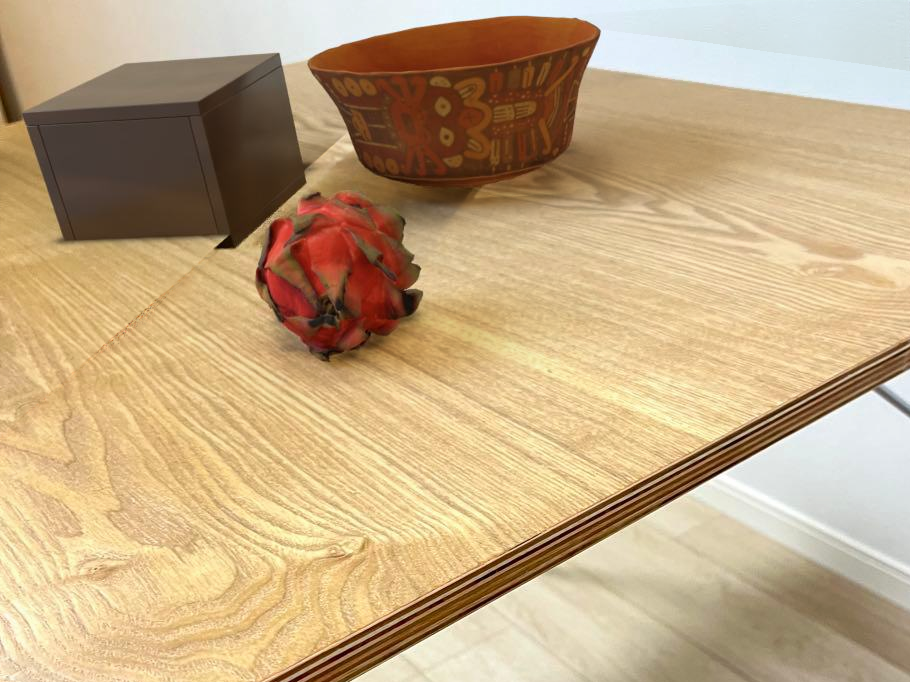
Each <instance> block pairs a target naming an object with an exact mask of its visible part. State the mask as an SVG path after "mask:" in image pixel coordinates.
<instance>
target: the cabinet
mask: <svg viewBox="0 0 910 682" xmlns="http://www.w3.org/2000/svg"><path fill="white" fill-rule="evenodd" d="M21 116H22V118H23V121H24V125H25V126H26V131H27V133H28V136H29V139H30V142H31V145H32V149H33V151H34V154H35V157H36V160H37V164H38V166H39V169H40V172H41V175H42V177H43V178H42V179H43V181H44V184H45V187H46V190H47V193H48V196H49V199H50V202H51V205H52V208H53V211H54V214H55V218H56V221H57V223H58V226H59V229H60V232H61V236H62V238H63V240H64V242H72V241H74V242H75V241H97V240H121V239H122V240H124V239H126V240H127V239H150V238H152V239H153V238H175V237H176V238H177V237H178V238H179V237H202V236H203V237H204V236H226V237H225V238H224V239H223V240H222V241H220V242H219V243H217V245H216V246H214V247H213V250H224V249H225V250H226V249H236V248H237V246H239V245H241V243H242V242H243V241H245V240H246V239H247V238H248V237H249V236H250V235H251V234H252V233H253V232H255V231H256V229H257V228H259V227H260V226H261V225H262V224H263V223H265V222H266V221H267V220H268V219H269V218H270V217H271V216H272V215H273V214H274V213H276V211H278V210H279V209H280V208H281V207H282V206H284V204H285V203H286V202H288V201H289V200H290V199H291V198H292V197H293V196H295V194H296V193H298V191H300V190H301V189H302V188H303V187H304V186H305V185H306V184H308V183H307V178H306V173H305V168H304V163H303V159H302V154H301V153H302V152H301V148H300V143H299V138H298V135H297V130H296V129H297V128H296V124H295V119H294V114H293V110H292V105H291V101H290V96H289V91H288V87H287V82H286V75H285V71H284V67H283V63H282V57H281V53H280V52H270V53H269V52H268V53H254V54H240V55H239V54H238V55H227V56H224V55H223V56H212V57H197V58H196V57H195V58H183V59H169V60H156V61H154V60H153V61H142V62H141V61H140V62H126V63H123V64H121V65H119V66H117V67H115V68H112V69H111V70H108V71H107V72H104V73H102V74H100V75H98V76H96V77H94V78H91V79H90V80H87V81H85V82H83V83H82V84H79V85H77V86H74V87H72V88H71V89H68V90H66V91H64V92H61V93H59V94H57V95H55V96H53V97H51V98H49V99H47V100H44V101H43V102H41V103H38V104H36V105H34V106H32V107H29V108H28V109H26V110H24V111H22V112H21Z"/></svg>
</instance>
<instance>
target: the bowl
mask: <svg viewBox="0 0 910 682" xmlns="http://www.w3.org/2000/svg"><path fill="white" fill-rule="evenodd" d="M601 33H602V30H601V29H600V28H599V27H598V26H597V25H595V24H593V23H591V22H590V21H588V20H583V19H580V18H578V17H564V16H563V17H556V16H538V15H503V16H495V17H485V18H477V19H471V20H459V21H452V22H444V23H437V24H430V25H424V26H417V27H412V28H406V29H403V30H398V31H395V32H393V31H392V32H389V33H384V34H378V35H374V36H370V37H366V38H363V39H359V40H356V41H351V42H346V43H342V44H340V45H338V46H334V47H330V48H327V49H325V50H323V51H321V52H319V53H317V54H314V55H313V56H312V57H310V58H309V59H308V60H307V63H306V64H307V65H306V66H307V67H308V69H309V71H310V73H311V74H312V76H313V77H314V78H315V79H316V81H317V82H318V83H319V84H320V86H321V87H322V88H323V90H324V91H325V92H326V94H327V95H328V96H329V98H330V99H331V101H332V102H333V104H334V105H335V106H336V108H337V110H338V112H339V114H340V116H341V118H342V120H343V122H344V124H345V126H346V130H347V133H348V135H349V138H350V141H351V143H352V146H353V149H354V151H355V154H356V156H357V159H358V161H359V163H360V164H361V165H362V166H363V168H364V169H366V170H368V171H369V172H371V173H372V174H374V175H376V176H379V177H382V178H383V179H387V180H390V181H394V182H399V183H403V184H406V185H412V186H418V187H425V188H435V189H462V188H463V189H464V188H473V187H481V186H487V185H488V186H489V185H492V184H496V183H502V182H505V181H509V180H513V179H516V178H519V177H522V176H524V175H527V174H530V173H533V172H535V171H537V170H539V169H541V168H542V167H544V166H546V165H548V164H551V163H552V162H554V161H556V159H558V158H559V157H560V156H561V155H563V154H564V153H565V152H566V151H567V150H568V149H569V147H570V145H571V142H572V139H573V134H574V126H575V119H576V112H577V104H578V99H579V92H580V91H579V90H580V87H581V84H582V80H583V77H584V74H585V71H586V70H587V67H588V65H589V63H590V61H591V59H592V56H593V54H594V51H595V49H596V47H597V44H598V42H599V39H600V37H601Z"/></svg>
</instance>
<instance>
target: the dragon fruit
mask: <svg viewBox="0 0 910 682" xmlns="http://www.w3.org/2000/svg"><path fill="white" fill-rule="evenodd" d="M406 225H407V223H406V219H405V217H404V216H403V215H402V214H401V213H400V211H398V210H397V209H395V208H393V207H392V206H387V205H381V204H379V203H376V202H372V200H371V198H370V197H369V196H368V195H367V194H366V193H364V192H363V191H360V190H357V189H347V190H340V191H337V192H336V193H335V194H334V195H332V196H331V197H330V198H326V197H325V196H324V195H322V192H320V191H319V190H318V191H315V192H309V193H305V194H302V195H301V196H300V197H299V199H298V206H297V209H296V215H294V214H291V215H287V216H286V217H285V218H276V219H274V220H273V221H272V222H271V223H270V224H269V226H268V228H267V229H266V230H265V232H264V234H263V238H262V240H261V253H260V257H259V260H258V262H257V265H258V266H257V267H256V269H255V278H254V279H255V280H254V283H255V288H256V291H257V293H258V296H259V297H260V299H261V300H262V301H264V302H265V303H266V304H267V305H268V307H269V309H270V310H271V309H272V312H273V313H274V316H275V317H276V318H277V320H278V322H280V323H281V324H282V325H283V326H284V327H285V328H286V329H287V330H288V331H290V332H292V333H293V334H294V335H296V336H298V337H299V339H300V341H301V342H302V344H304V345H305V346H307V347H308V349H309V354H310V355H312V356H314V357H315V358H316V359H318V360H319V361H321V362H328V363H331V360H330V359H331V357H332V356H336V355H342V354H344V352H347V351H349V350H352V349H353V348H354V349H357V348H363V347H365V346H367V344H368V343H370V342H371V338H372V335H373V334H375V335H376V336H381V337H387V336H389V335H390V334H391V333H393V332H394V331H395V330H396V329H397V327H398V326H399V324H400V323H401V322H402V320H403V319H404V318H407V317H410V316H412V315H414V313H416V311H417V310H418V308H419V306H420V303H421V301H422V299H423V298H424V297H423V296H424V291H423V290H421V289H418V288H411V287H412V286H413V285H415V284H416V283H417V281H418V280H419V278H420V275H421V270H422V267H421V266H420V265H419V264H418V263H413V262H414V260H415V254H414V253H412V252H410V251H409V250H408V248H406V247H405V245H404V244H403V241H404V237H405V233H404V231H405V227H406ZM366 331H368V332H370V333H369V334H368V333H367V332H366Z"/></svg>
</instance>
